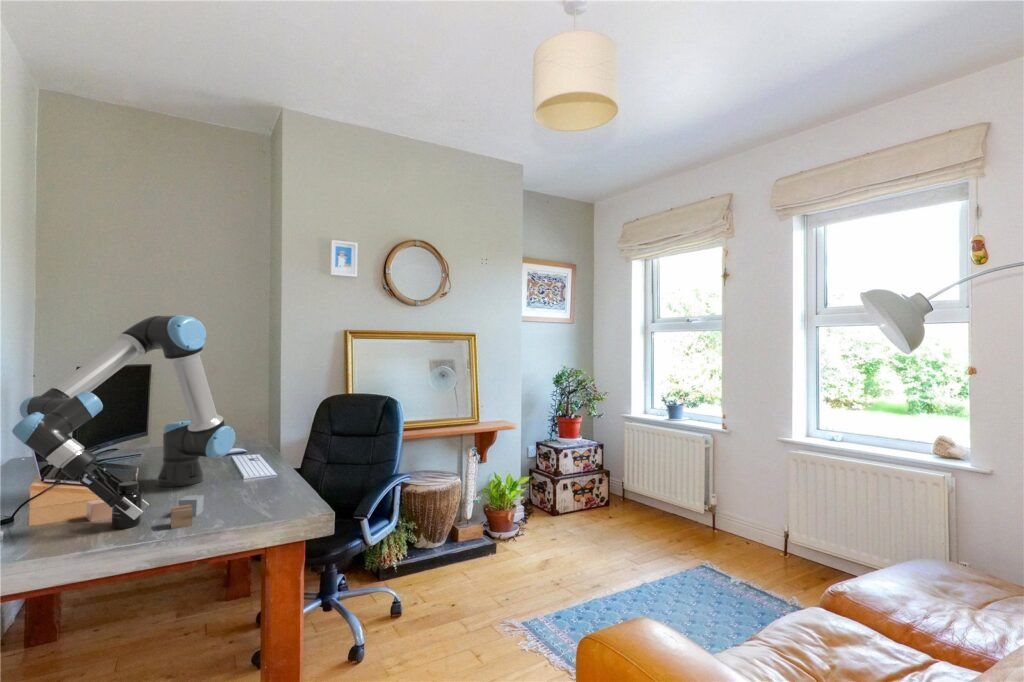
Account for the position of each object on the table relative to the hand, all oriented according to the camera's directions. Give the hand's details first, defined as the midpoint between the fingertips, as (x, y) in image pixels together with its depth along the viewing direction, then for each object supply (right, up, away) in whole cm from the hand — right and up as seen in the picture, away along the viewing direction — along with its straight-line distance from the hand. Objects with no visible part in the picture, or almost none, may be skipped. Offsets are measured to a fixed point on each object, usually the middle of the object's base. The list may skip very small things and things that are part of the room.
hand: (141, 511), depth 148 cm
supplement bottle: (-3, -4, -2) cm, 5 cm away
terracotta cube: (-16, -3, +5) cm, 17 cm away
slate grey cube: (+8, -4, +10) cm, 13 cm away
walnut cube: (+11, -4, 0) cm, 12 cm away
